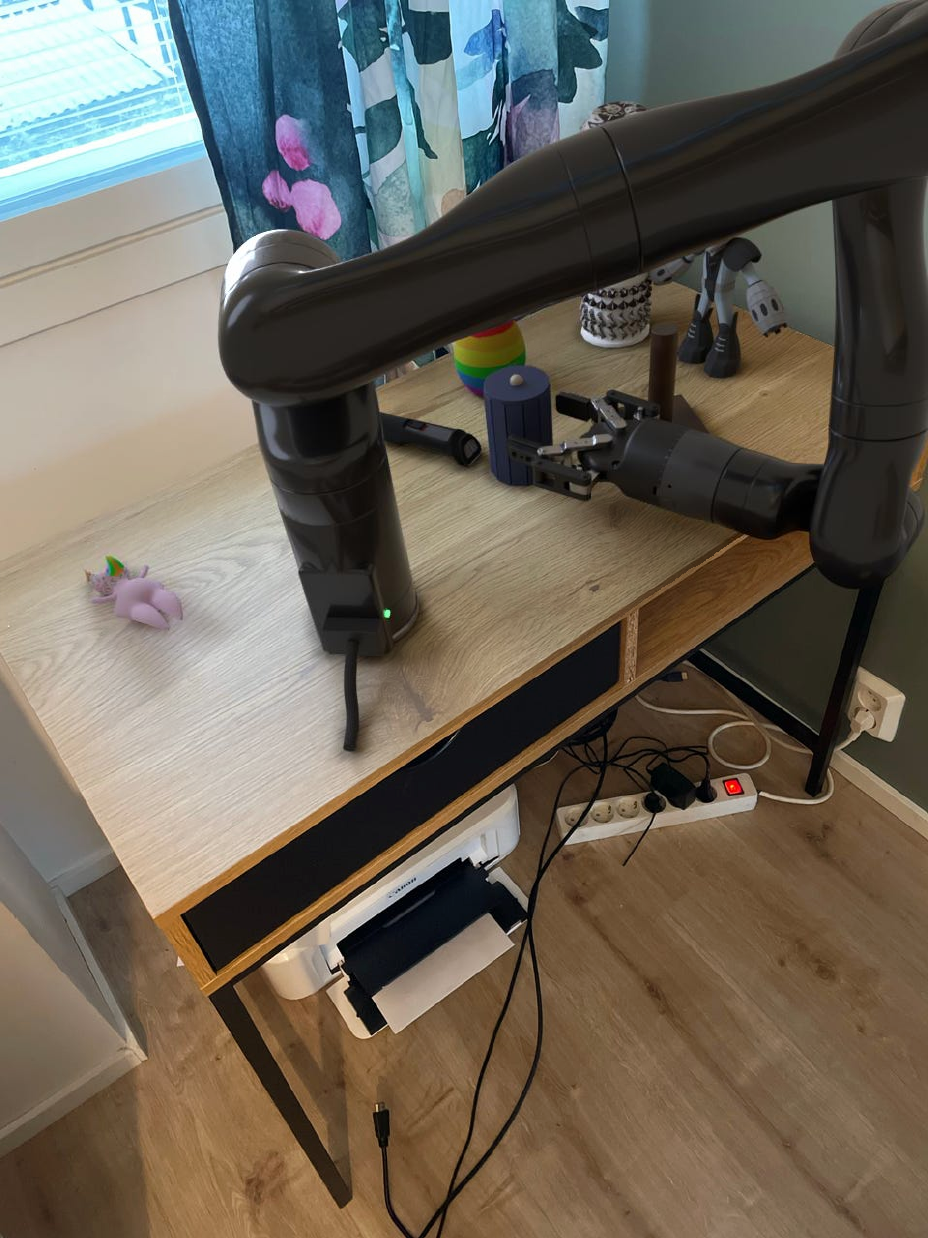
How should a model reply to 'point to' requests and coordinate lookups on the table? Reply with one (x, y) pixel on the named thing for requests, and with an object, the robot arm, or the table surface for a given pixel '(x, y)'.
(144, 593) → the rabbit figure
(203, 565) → the table surface
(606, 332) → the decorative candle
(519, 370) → the slatted storage jar
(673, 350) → the hat peg
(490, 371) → the decorative egg
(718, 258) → the robot
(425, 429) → the electric trimmer
